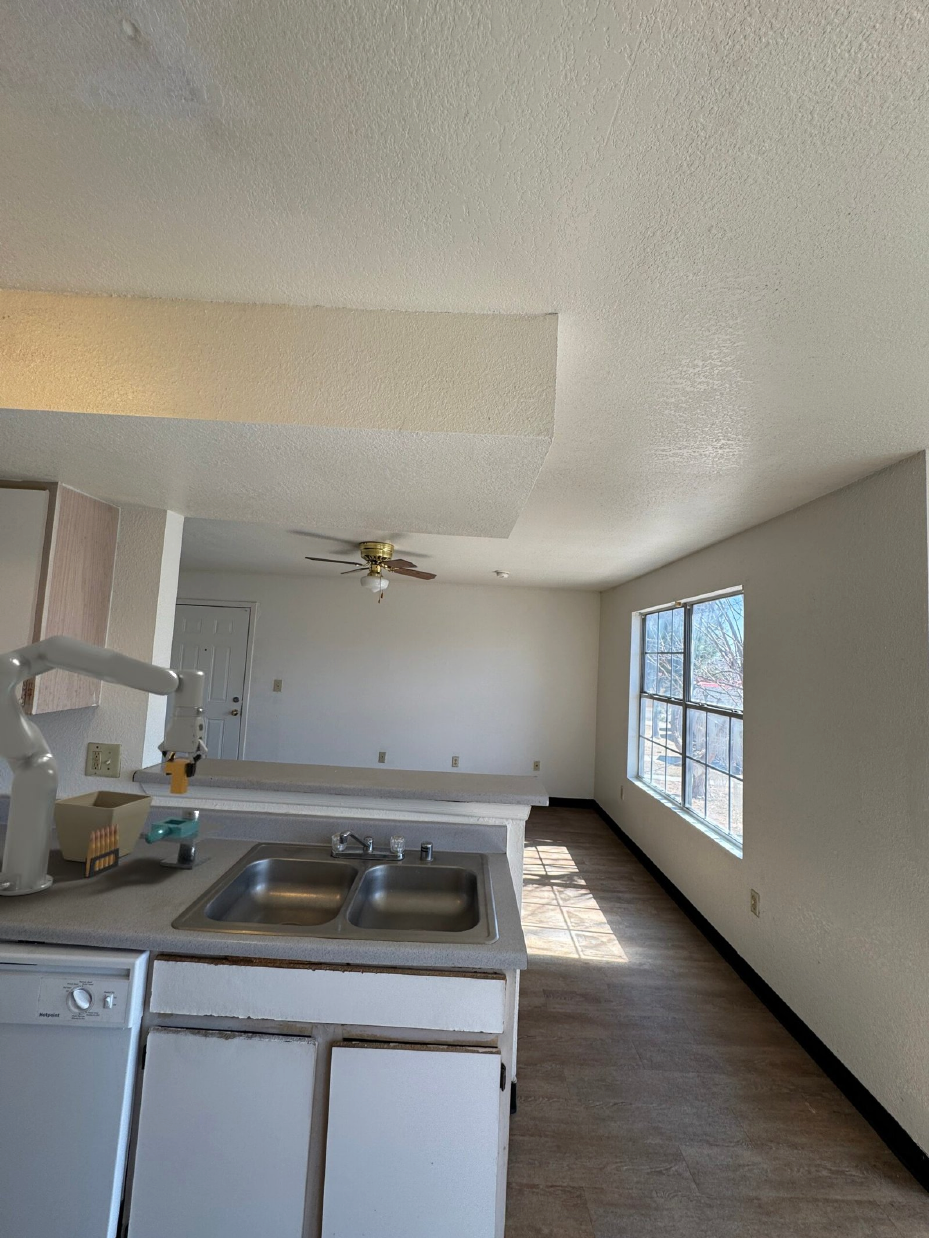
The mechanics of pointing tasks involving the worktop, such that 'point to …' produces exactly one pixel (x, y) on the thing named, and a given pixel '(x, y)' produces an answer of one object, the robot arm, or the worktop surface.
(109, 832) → the ammunition clip
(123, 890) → the worktop surface
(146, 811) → the flower pot
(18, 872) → the robot arm
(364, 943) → the worktop surface
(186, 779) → the tan t-shaped peg
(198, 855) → the teal meat grinder
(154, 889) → the worktop surface
